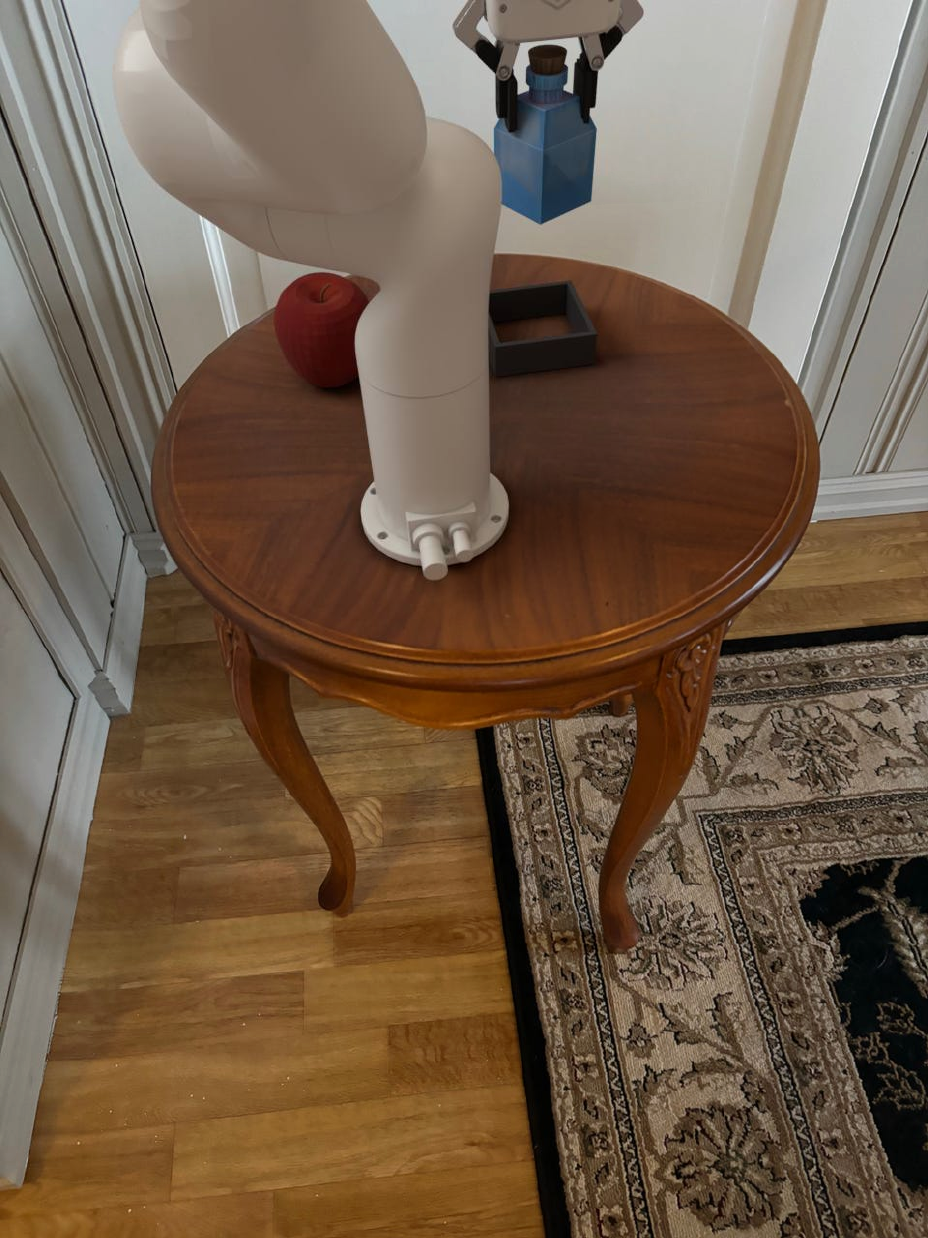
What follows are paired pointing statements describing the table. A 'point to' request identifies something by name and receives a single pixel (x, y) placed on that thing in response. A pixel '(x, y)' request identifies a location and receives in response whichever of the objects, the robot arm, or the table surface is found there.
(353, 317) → the apple
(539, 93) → the perfume bottle
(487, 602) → the table surface
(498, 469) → the table surface
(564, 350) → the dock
